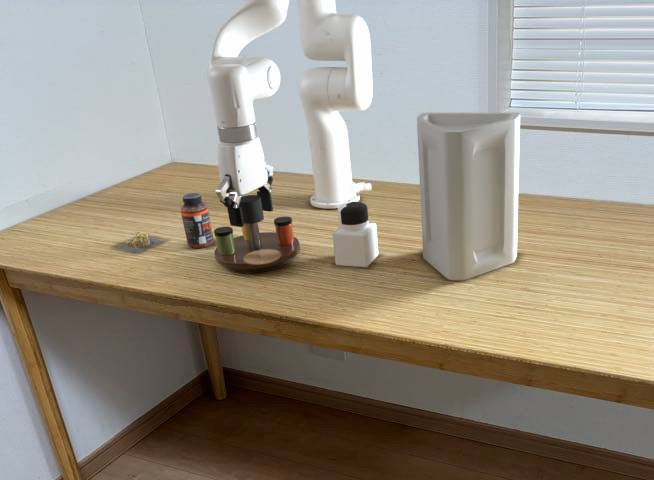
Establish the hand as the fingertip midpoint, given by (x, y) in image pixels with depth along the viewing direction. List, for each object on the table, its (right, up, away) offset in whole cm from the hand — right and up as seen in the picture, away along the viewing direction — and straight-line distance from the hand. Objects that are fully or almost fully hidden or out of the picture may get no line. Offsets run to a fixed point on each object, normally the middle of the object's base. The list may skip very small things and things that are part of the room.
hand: (252, 218), depth 160 cm
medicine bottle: (+22, -9, +2) cm, 24 cm away
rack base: (+1, -8, +5) cm, 9 cm away
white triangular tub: (+44, -11, -4) cm, 45 cm away
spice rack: (+1, -7, +4) cm, 8 cm away
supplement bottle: (-15, -2, +16) cm, 22 cm away
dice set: (-29, -2, +18) cm, 35 cm away
